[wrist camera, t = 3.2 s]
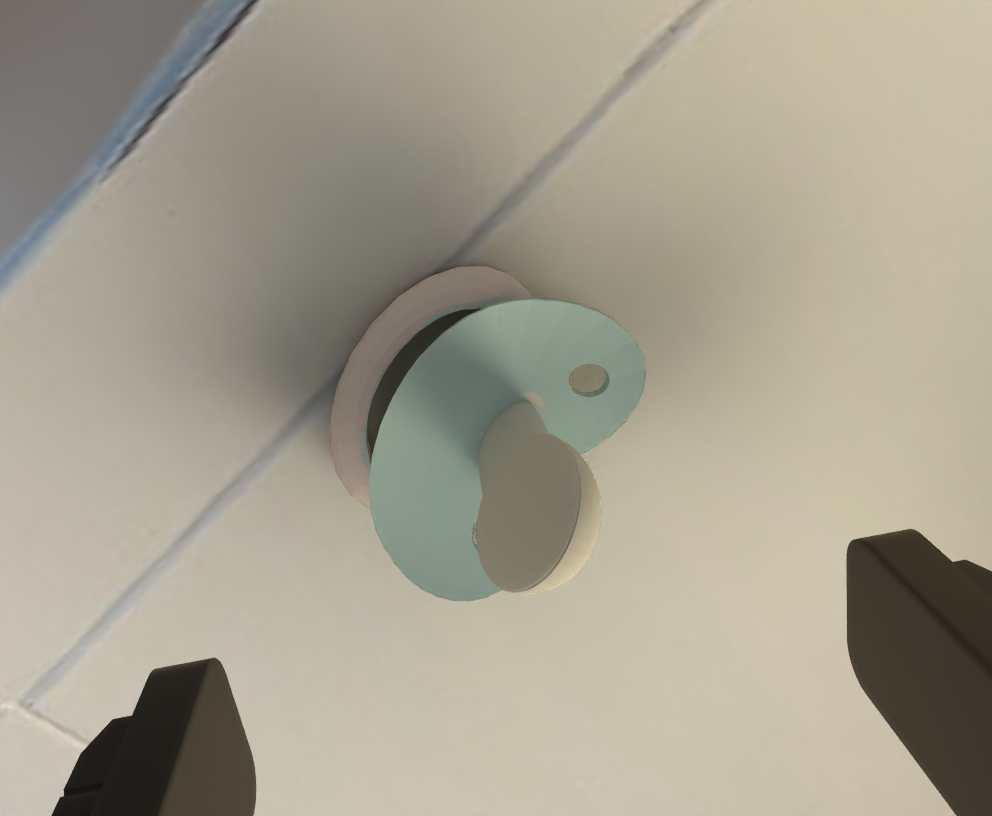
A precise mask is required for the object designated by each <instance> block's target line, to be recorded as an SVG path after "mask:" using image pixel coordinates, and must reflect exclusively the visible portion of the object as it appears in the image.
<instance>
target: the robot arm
mask: <svg viewBox="0 0 992 816" xmlns="http://www.w3.org/2000/svg"><path fill="white" fill-rule="evenodd" d="M847 644H848V651H849V656H850V660H851V663H852V666H853V669H854V672H855V675H856V677H857V679H858V681H859V683H860V685H861V687H862V689H863V690H864V692H865V693H866V694H867V696H868V697H869V699H870V700H871V701H872V703H873V704H874V705H875V707H876V708H877V709H878V711H879V712H880V713H881V715H882V716H883V717H884V719H885V720H886V721H887V723H888V724H889V725H890V727H891V728H892V729H893V731H894V732H895V733H896V735H897V736H898V737H899V739H900V740H901V742H902V743H903V744H904V746H905V747H906V748H907V750H908V751H909V752H910V754H911V755H912V756H913V758H914V759H915V760H916V762H917V763H918V764H919V766H920V767H921V768H922V770H923V771H924V772H925V774H926V775H927V776H928V778H929V779H930V780H931V782H932V783H933V785H934V786H935V787H936V789H937V790H938V791H939V793H940V794H941V795H942V797H943V798H944V799H945V801H946V802H947V803H948V805H949V806H950V807H951V809H952V810H953V811H954V813H955V814H956V815H957V816H992V571H990V570H987V569H985V568H983V567H981V566H978V565H976V564H974V563H972V562H970V561H967V560H961V561H956V562H952V561H951V560H950V559H949V558H948V557H946V556H945V555H944V554H943V553H942V552H941V551H940V550H939V549H937V548H936V547H935V546H934V545H933V544H932V543H931V542H930V541H928V540H927V539H926V538H925V537H924V536H923V535H922V534H920V533H919V532H918V531H916V530H914V529H907V530H902V531H897V532H891V533H886V534H881V535H875V536H870V537H865V538H859V539H854V540H852V541H851V542H850V544H849V546H848V549H847ZM255 803H256V775H255V767H254V761H253V757H252V753H251V750H250V746H249V743H248V740H247V737H246V734H245V731H244V728H243V725H242V722H241V719H240V716H239V713H238V709H237V706H236V703H235V700H234V697H233V694H232V691H231V688H230V685H229V682H228V679H227V676H226V673H225V670H224V668H223V666H222V664H221V662H220V661H219V660H218V659H216V658H211V659H205V660H200V661H195V662H189V663H184V664H179V665H173V666H168V667H163V668H157V669H154V670H153V671H152V672H151V673H150V675H149V677H148V679H147V681H146V684H145V686H144V688H143V691H142V693H141V696H140V698H139V700H138V703H137V705H136V707H135V710H134V712H133V715H132V716H127V717H122V718H117V719H113V720H112V721H111V722H110V723H109V724H108V725H107V726H106V727H105V728H104V729H103V730H102V731H101V732H100V733H99V735H98V736H97V737H96V738H95V739H94V740H93V741H92V742H91V743H90V744H89V745H88V746H87V747H86V749H85V750H84V751H83V752H82V753H81V754H80V756H79V758H78V761H77V763H76V765H75V767H74V769H73V771H72V773H71V775H70V778H69V780H68V782H67V784H66V786H65V788H64V797H60V799H59V801H58V803H57V805H56V807H55V809H54V811H53V814H52V816H253V815H254V810H255Z"/></svg>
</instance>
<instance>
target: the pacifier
mask: <svg viewBox="0 0 992 816" xmlns="http://www.w3.org/2000/svg"><path fill="white" fill-rule="evenodd" d="M479 308H481V309H480V310H478V311H476V312H474V313H472V314H470V315H468V316H466V317H464V318H463V319H461V320H460V321H458V322H457V323H456V324H454V325H453V326H451V327H450V328H449V329H447V330H446V331H445V332H443V333H442V334H441V335H440V336H439V337H438V338H437V339H436V340H435V341H434V342H433V343H432V344H431V345H430V346H429V347H428V348H427V349H426V350H425V351H424V352H423V353H422V354H421V355H420V356H419V357H418V359H417V360H416V361H415V363H414V364H413V365H412V367H411V368H410V370H409V371H408V372H407V374H406V375H405V377H404V379H403V380H402V382H401V383H400V385H399V387H398V389H397V390H396V392H395V394H394V396H393V398H392V400H391V402H390V404H389V406H388V408H387V411H386V413H385V415H384V418H383V420H382V423H381V425H380V428H379V432H378V436H377V439H376V443H375V447H374V451H373V455H372V453H371V449H370V445H369V440H368V436H367V424H368V415H369V411H370V407H371V403H372V399H373V396H374V394H375V392H376V389H377V387H378V385H379V383H380V381H381V379H382V377H383V374H384V372H385V371H386V369H387V368H388V367H389V365H390V364H391V362H392V361H393V359H394V358H395V357H396V355H397V354H398V352H399V351H400V350H401V349H402V348H403V347H404V346H405V345H406V344H407V343H408V342H409V341H410V340H411V339H412V338H413V337H414V336H415V335H416V334H417V333H418V332H419V331H420V330H422V329H423V328H425V327H426V326H428V325H429V324H431V323H432V322H434V321H435V320H437V319H438V318H440V317H442V316H445V315H448V314H450V313H453V312H456V311H458V310H464V309H479ZM585 364H594V365H598V366H600V367H602V368H603V369H605V370H606V374H607V378H606V382H605V383H604V385H603V386H602V387H601V388H600V389H598V390H596V391H594V392H589V393H583V392H578V391H576V390H574V389H573V388H572V387H570V385H569V377H570V374H571V373H572V371H573V370H574V369H576V368H577V367H579V366H581V365H585ZM645 375H646V372H645V365H644V358H643V356H642V354H641V351H640V349H639V347H638V345H637V343H636V342H635V341H634V340H633V338H632V337H631V336H630V335H629V333H628V332H627V331H626V330H625V329H624V328H622V327H621V326H620V325H619V324H618V323H616V322H615V321H614V320H613V319H611V318H610V317H608V316H606V315H604V314H602V313H600V312H599V311H597V310H595V309H592V308H589V307H586V306H584V305H581V304H578V303H574V302H569V301H563V300H557V299H542V298H532V296H531V294H530V292H529V291H528V290H527V289H526V288H525V287H524V286H523V285H522V284H520V283H519V282H518V281H517V280H516V279H515V278H514V277H513V276H511V275H510V274H508V273H505V272H502V271H499V270H496V269H493V268H490V267H487V266H471V267H456V268H453V269H450V270H447V271H444V272H442V273H439V274H436V275H433V276H430V277H427V278H426V279H424V280H423V281H421V282H420V283H418V284H417V285H415V286H414V287H412V288H410V289H409V290H407V291H406V292H404V293H403V294H401V295H400V296H398V297H397V298H396V299H395V300H394V301H393V302H392V303H391V304H390V305H389V306H388V307H387V308H386V309H385V310H384V311H383V312H382V313H381V314H380V315H379V316H378V317H377V318H376V319H375V320H374V321H373V322H372V324H371V325H370V327H369V328H368V330H367V331H366V333H365V334H364V335H363V337H362V338H361V340H360V341H359V343H358V344H357V346H356V347H355V349H354V350H353V351H352V353H351V356H350V358H349V360H348V362H347V365H346V367H345V369H344V371H343V374H342V376H341V378H340V380H339V383H338V385H337V389H336V394H335V398H334V402H333V407H332V411H331V416H330V450H331V454H332V457H333V461H334V465H335V469H336V472H337V475H338V476H339V478H340V480H341V481H342V483H343V484H344V486H345V487H346V489H347V490H348V492H349V493H350V495H352V496H353V497H354V498H356V499H357V500H358V501H360V502H361V503H363V504H364V505H365V506H367V507H368V508H370V509H371V513H372V517H373V521H374V525H375V529H376V532H377V534H378V536H379V538H380V540H381V542H382V544H383V546H384V548H385V549H386V551H387V552H388V553H389V555H390V557H391V558H392V560H393V562H394V563H395V565H396V566H397V567H398V568H399V569H400V570H401V571H402V572H403V574H404V575H405V576H406V577H407V578H408V579H409V580H410V581H412V582H413V583H414V584H415V585H417V586H418V587H419V588H421V589H422V590H424V591H426V592H429V593H431V594H433V595H435V596H436V597H440V598H444V599H448V600H452V601H472V600H477V599H481V598H486V597H488V596H490V595H492V594H494V593H497V592H499V591H501V590H504V591H508V592H512V593H517V594H538V593H543V592H546V591H549V590H552V589H555V588H557V587H559V586H560V585H562V584H564V583H565V582H567V581H568V580H570V579H571V578H572V577H573V576H574V575H575V574H576V573H577V572H578V571H579V570H580V569H581V568H582V567H583V565H584V564H585V563H586V561H587V560H588V558H589V556H590V555H591V553H592V551H593V549H594V546H595V544H596V541H597V538H598V534H599V530H600V524H601V500H600V495H599V490H598V486H597V483H596V481H595V478H594V476H593V473H592V471H591V469H590V468H589V466H588V465H587V463H586V462H585V460H584V459H583V457H582V456H581V455H580V454H582V453H584V452H586V451H587V450H589V449H591V448H593V447H595V446H597V445H598V444H600V443H601V442H602V441H604V440H605V439H606V438H608V437H609V436H611V435H612V434H613V433H614V432H615V431H616V430H617V429H618V428H619V427H620V426H621V425H622V424H623V423H625V421H626V420H627V418H628V417H629V416H630V414H631V413H632V412H633V410H634V409H635V408H636V406H637V404H638V402H639V399H640V397H641V394H642V392H643V389H644V382H645ZM476 522H477V535H476V539H477V544H476V543H475V542H474V541H473V539H472V530H473V527H474V525H475V523H476Z"/></svg>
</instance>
